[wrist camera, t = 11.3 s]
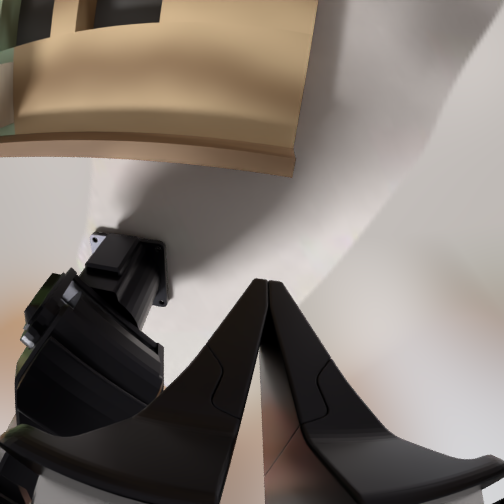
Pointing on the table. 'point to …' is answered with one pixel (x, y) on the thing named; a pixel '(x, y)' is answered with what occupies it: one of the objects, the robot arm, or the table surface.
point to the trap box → (158, 80)
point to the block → (6, 94)
